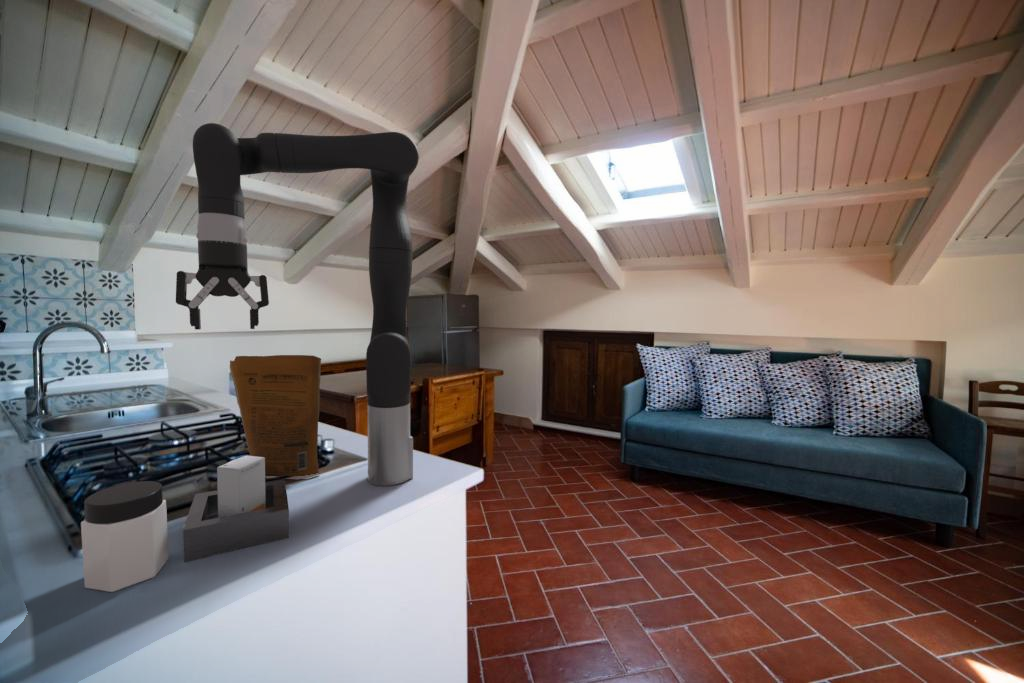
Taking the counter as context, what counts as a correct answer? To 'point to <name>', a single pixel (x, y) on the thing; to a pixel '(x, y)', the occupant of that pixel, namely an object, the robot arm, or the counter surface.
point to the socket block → (234, 524)
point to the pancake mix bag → (280, 410)
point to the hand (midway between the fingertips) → (225, 329)
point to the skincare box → (241, 486)
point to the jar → (124, 535)
